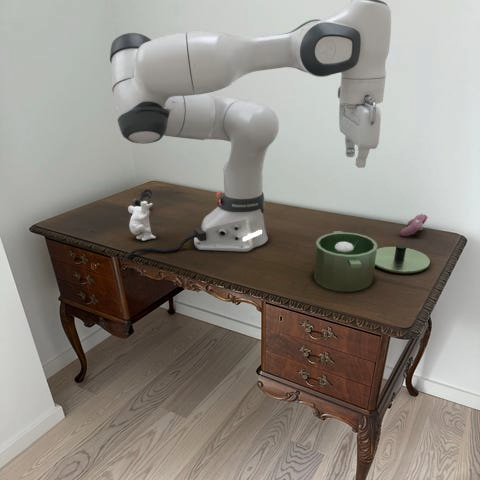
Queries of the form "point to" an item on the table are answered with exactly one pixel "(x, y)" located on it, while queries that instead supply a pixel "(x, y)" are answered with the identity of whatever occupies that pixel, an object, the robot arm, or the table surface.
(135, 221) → the koala figurine
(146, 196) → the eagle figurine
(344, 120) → the robot arm
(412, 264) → the lid
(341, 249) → the milkshake
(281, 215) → the table surface
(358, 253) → the pot
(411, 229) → the video game controller
